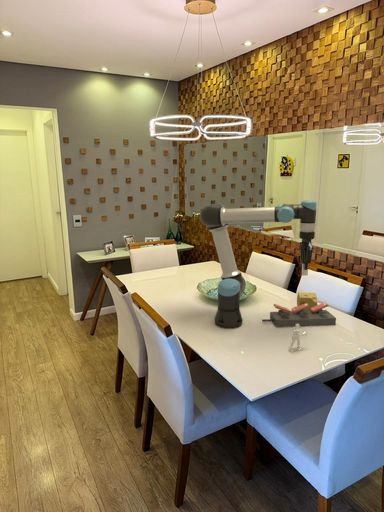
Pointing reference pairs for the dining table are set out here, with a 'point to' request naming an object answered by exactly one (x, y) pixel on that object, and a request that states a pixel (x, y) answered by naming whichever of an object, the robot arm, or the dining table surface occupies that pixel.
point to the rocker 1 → (282, 308)
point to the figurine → (296, 338)
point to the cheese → (307, 299)
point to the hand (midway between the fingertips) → (304, 275)
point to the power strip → (301, 318)
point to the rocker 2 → (300, 308)
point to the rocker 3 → (319, 307)
